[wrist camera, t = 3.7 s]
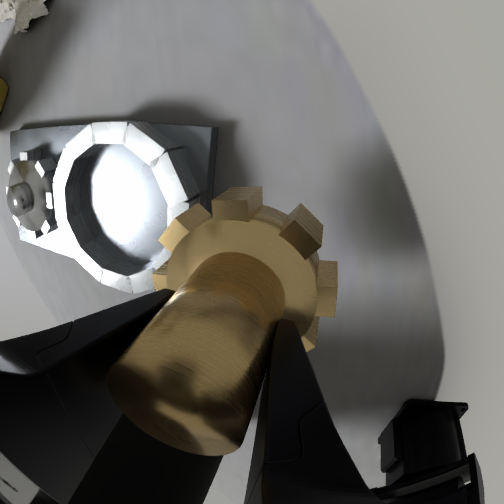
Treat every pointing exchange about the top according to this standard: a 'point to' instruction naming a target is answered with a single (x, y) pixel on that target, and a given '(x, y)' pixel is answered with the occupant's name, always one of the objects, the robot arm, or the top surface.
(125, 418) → the coffee jar
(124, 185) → the carrier
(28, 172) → the sun gear
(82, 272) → the top surface
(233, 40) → the top surface
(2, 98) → the flower pot
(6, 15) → the cream lumpy figure
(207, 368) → the planet gear
